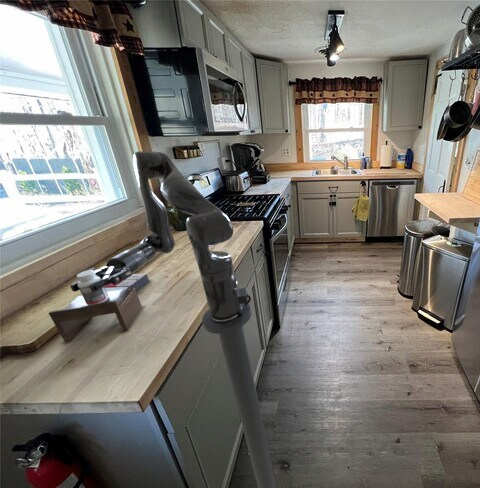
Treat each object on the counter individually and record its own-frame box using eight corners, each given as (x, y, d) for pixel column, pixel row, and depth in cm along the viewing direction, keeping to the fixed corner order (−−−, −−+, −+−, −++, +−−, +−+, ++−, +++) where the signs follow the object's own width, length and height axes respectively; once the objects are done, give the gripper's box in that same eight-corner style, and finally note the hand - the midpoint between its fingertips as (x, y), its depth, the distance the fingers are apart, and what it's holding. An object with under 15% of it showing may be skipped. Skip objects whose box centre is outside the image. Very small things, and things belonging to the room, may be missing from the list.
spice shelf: (142, 307, 89) (132, 281, 85) (127, 330, 78) (115, 301, 74) (87, 316, 85) (74, 289, 81) (64, 342, 74) (48, 313, 70)
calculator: (147, 272, 104) (120, 291, 90) (149, 281, 106) (124, 302, 92) (119, 273, 104) (88, 293, 90) (123, 283, 106) (93, 303, 92)
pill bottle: (91, 298, 81) (79, 270, 77) (112, 294, 82) (100, 267, 78) (83, 308, 76) (69, 279, 72) (104, 304, 77) (92, 275, 74)
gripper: (105, 252, 89) (53, 277, 74) (143, 252, 88) (99, 278, 72) (113, 271, 92) (65, 299, 76) (150, 271, 91) (109, 300, 75)
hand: (82, 289), depth 74 cm, fingers open, 5 cm apart
